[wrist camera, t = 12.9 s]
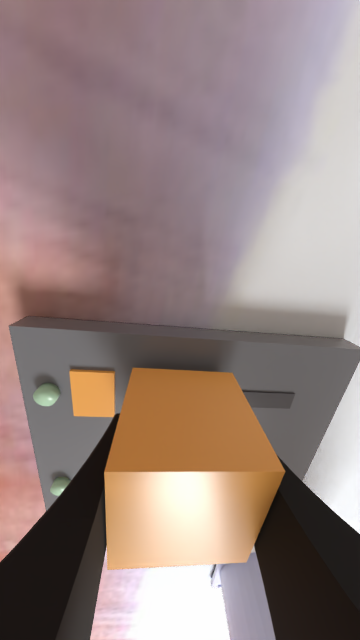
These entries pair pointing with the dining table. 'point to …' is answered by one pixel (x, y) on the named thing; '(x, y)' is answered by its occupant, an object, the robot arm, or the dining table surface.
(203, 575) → the dining table surface
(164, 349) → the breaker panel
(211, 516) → the cap
